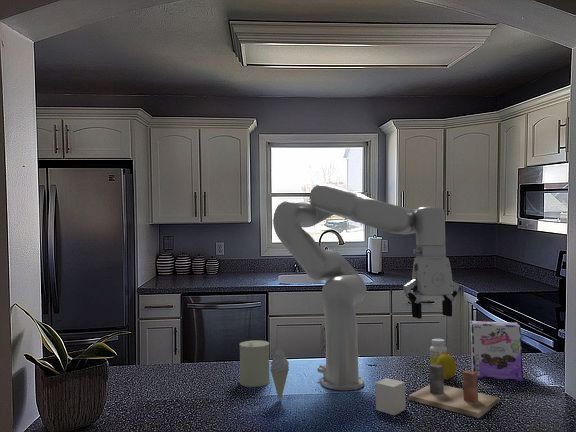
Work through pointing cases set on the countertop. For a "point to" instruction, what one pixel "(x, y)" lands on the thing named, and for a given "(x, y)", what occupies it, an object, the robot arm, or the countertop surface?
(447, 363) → the lemon
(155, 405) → the countertop surface
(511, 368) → the candy box
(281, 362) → the ice cream cone
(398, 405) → the white rectangular block
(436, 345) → the supplement bottle
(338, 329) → the robot arm
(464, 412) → the stand
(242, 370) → the can
